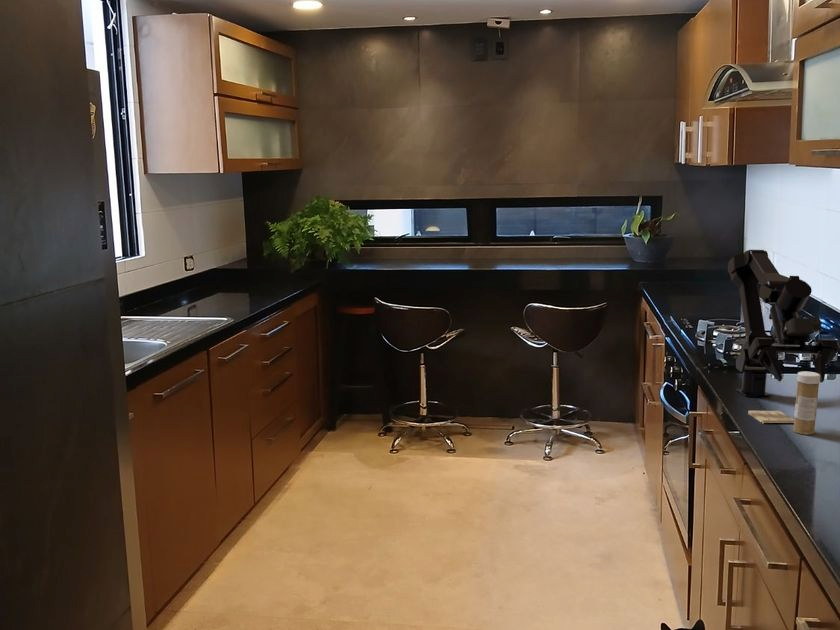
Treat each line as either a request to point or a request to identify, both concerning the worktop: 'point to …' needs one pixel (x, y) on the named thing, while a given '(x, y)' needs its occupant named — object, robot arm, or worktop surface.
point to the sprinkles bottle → (806, 402)
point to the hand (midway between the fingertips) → (801, 381)
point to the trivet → (771, 417)
